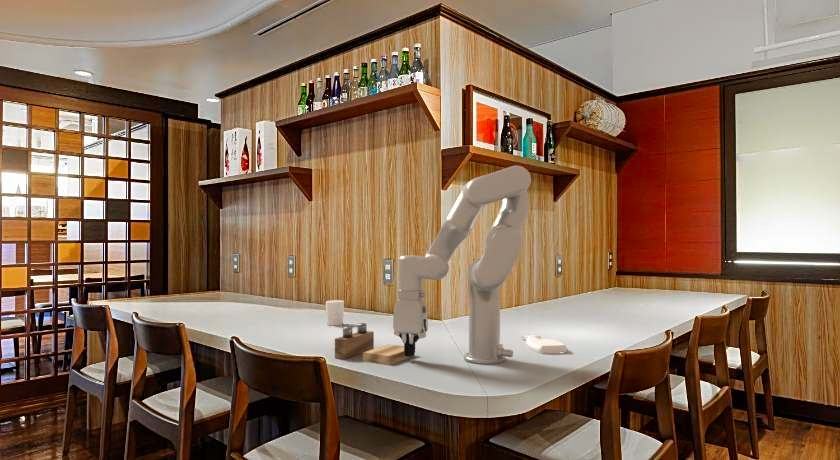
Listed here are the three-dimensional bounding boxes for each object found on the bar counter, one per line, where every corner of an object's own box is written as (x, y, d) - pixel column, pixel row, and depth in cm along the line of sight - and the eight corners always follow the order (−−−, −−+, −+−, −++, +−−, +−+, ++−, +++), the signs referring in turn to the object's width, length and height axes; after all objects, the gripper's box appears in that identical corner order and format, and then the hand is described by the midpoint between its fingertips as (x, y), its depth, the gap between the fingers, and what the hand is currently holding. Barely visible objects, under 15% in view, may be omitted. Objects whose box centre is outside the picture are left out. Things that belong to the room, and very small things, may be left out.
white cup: (340, 326, 221) (340, 302, 221) (322, 325, 222) (322, 302, 222) (346, 323, 228) (346, 300, 228) (329, 322, 230) (329, 299, 230)
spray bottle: (538, 355, 169) (514, 341, 193) (570, 354, 170) (543, 340, 194) (537, 346, 169) (514, 333, 193) (570, 345, 170) (543, 332, 194)
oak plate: (414, 357, 167) (414, 347, 167) (389, 366, 155) (389, 356, 155) (388, 353, 172) (388, 344, 172) (362, 362, 160) (362, 352, 160)
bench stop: (373, 349, 175) (373, 322, 176) (345, 359, 161) (345, 330, 161) (363, 348, 177) (363, 321, 177) (334, 357, 163) (334, 329, 163)
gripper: (437, 296, 160) (437, 356, 159) (395, 293, 167) (394, 350, 166) (426, 298, 153) (425, 361, 153) (382, 295, 160) (382, 355, 160)
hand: (409, 355), depth 160 cm, fingers closed
